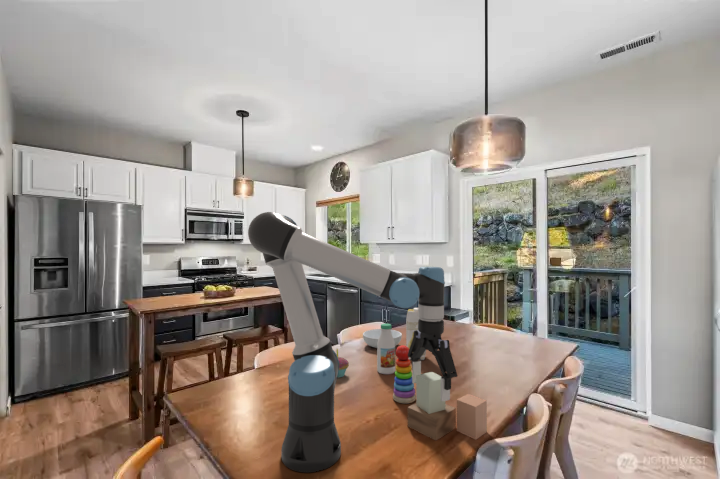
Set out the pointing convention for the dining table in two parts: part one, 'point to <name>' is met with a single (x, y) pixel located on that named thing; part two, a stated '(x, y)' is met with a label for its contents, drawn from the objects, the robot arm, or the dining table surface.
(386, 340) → the milk bottle
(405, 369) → the stacking toy
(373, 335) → the serving bowl
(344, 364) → the cupcake
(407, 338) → the juice carton
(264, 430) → the dining table surface
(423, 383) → the sage block
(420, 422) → the walnut block
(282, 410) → the dining table surface
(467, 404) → the terracotta block
